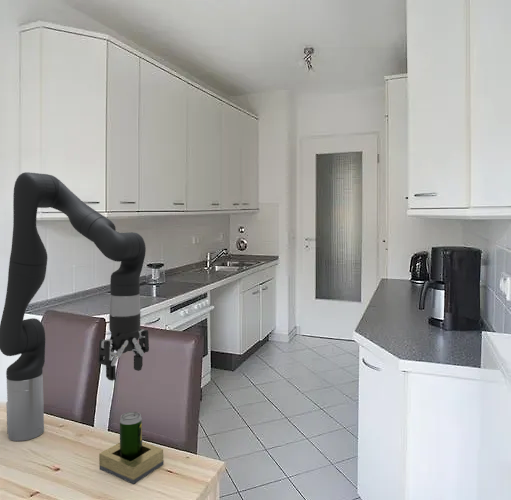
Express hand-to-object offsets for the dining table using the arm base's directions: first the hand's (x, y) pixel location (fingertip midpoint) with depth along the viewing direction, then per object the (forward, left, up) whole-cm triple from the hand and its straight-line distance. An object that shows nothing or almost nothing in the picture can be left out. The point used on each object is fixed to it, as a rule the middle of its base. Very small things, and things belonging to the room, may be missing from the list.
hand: (124, 374), depth 112 cm
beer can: (+3, -1, -22) cm, 22 cm away
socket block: (+3, -1, -23) cm, 23 cm away
